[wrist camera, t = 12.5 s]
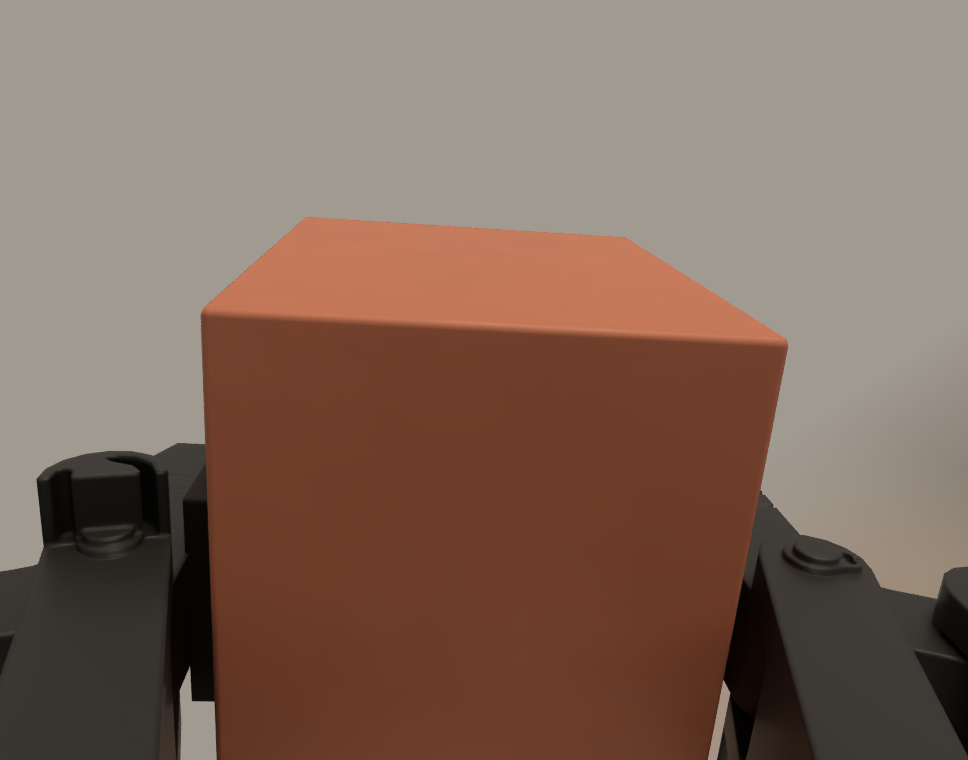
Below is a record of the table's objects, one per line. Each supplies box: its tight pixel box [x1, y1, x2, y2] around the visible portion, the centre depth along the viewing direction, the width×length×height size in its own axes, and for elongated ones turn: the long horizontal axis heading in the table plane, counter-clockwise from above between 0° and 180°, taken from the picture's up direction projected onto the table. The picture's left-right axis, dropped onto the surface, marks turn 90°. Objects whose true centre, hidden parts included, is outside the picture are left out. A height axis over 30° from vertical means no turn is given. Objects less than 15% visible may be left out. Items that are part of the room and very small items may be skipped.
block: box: [201, 217, 788, 760], centre depth 11 cm, size 5×6×10 cm
